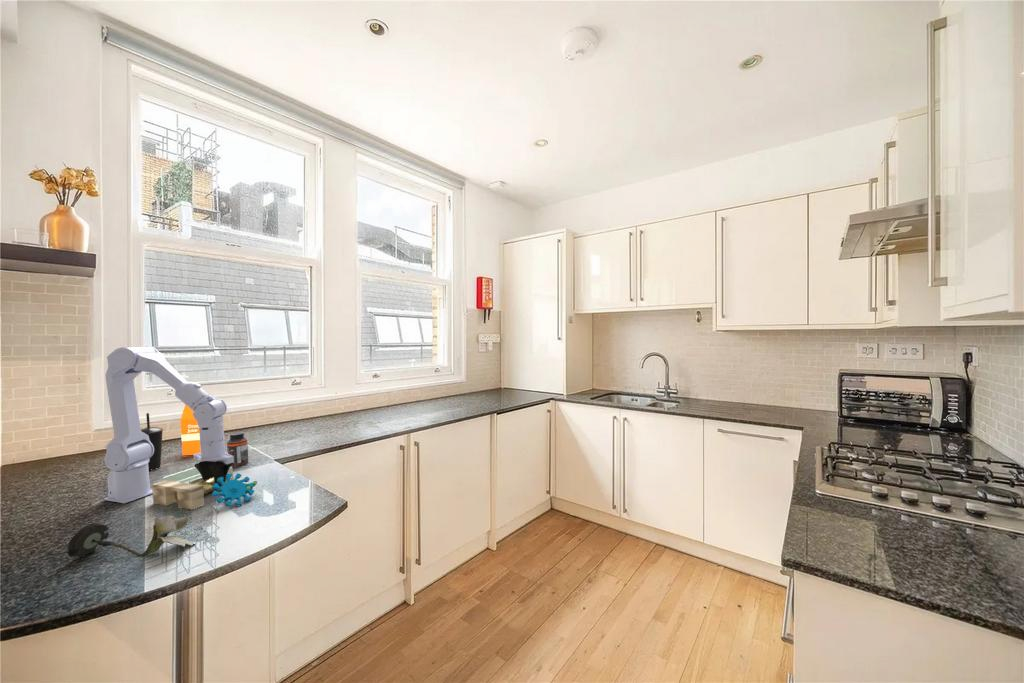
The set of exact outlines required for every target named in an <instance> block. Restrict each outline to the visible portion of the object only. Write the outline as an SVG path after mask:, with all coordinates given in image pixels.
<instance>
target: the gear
mask: <svg viewBox="0 0 1024 683" xmlns="http://www.w3.org/2000/svg"><path fill="white" fill-rule="evenodd" d="M231 477H232V474H227V475H226V479H227V482H223V479H224V478H223V477H220V478H218V479H217V482H219V483H220V484H221V486H222V487H219V485H218V484H217V483H215V484H214V485H213V486H212V489H217V490H215V491H212V492H211V497H212V498H215V497H217V499H216V502H217V504H221V503H222V502H223V501H224V502H225V501H227V502H225V504H224V506H225V507H231V506H232V505H233V501H234V500H237V501H236V503H235V507H239V506H238V505H240V506H242V504H243V502H244V503H247V502H249V501H250V500H251V497H250V496H252V495H253V494H254V493H255V490H254V487H256V486H257V484H258V481H257V480H254V481H253V482H250V483H248V482H249V481H250V478H249V477H248V476H245V477H244V478H243V479H241V480H239V479H240V478H241V477H242V474H241V473H236V474H235V477H234V478H231ZM230 478H231V479H230ZM246 494H247V495H246ZM221 496H222V497H221ZM241 498H243V501H242V499H241Z"/></svg>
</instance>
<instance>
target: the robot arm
mask: <svg viewBox="0 0 1024 683" xmlns="http://www.w3.org/2000/svg"><path fill="white" fill-rule="evenodd" d="M106 359H107V364H108V365H107V369H106V372H105V383H106V389H107V397H108V403H109V409H110V415H111V422H112V428H113V429H112V430H113V438H112V439H111V440H110V441H109V442H108V443H107V444H106V447H105V449H106V452H105V454H104V459H103V460H104V461H103V462H104V464H105V466H106V467H107V468H108V469H109V470H110V471H109V472H108V474H107V492H108V493H107V494H108V496H107V497H104V500H105V501H109V502H113V503H115V502H116V503H120V504H127V503H130V502H132V501H135V500H138V499H141V498H144V497H147V496H149V495H153V491H152V488H151V485H150V484H151V483H150V473H149V472H150V471H149V468H148V462H150V459H149V458H150V457H151V456H152V455H153V453H154V446H153V444H152V443H151V442H150V440H149V436H148V435H147V434H145V433H143V432H142V431H141V429H142V428H141V424H140V423H141V421H140V416H139V408H138V402H137V401H138V400H137V396H136V389H135V388H136V387H135V382H134V381H135V380H134V379H136V377H138V376H139V375H140V374H141V373H142V372H145V373H152V374H153V375H155V376H156V377H158V378H159V379H160V380H161V381H163V382H164V383H166V384H167V385H169V387H171V388H172V389H174V390H175V393H174V396H175V397H176V398H177V399H178V400H180V401H181V402H182V403H183V404H184V405H185V404H186V405H187V406H188V407H189V408H190V409H191V410H193V411H194V413H192V414H193V417H194V418H195V420H196V421H197V422H198V426H199V436H200V451H201V452H200V453H196V454H193V456H192V457H193V462H194V461H195V462H197V463H195V464H194V467H196V468H197V470H198V471H199V472H200V474H201V476H202V478H203V480H206V479H209V478H212V477H214V482H215V483H217V484H218V485H219V487H220V486H221V484H220V483H219V482H217V479H218V478H220V477H223V478H224V479H223V482H225V481H226V475H227V473H228V470H229V468H230V466H231V465H232V463H233V462H234V456H232V455H229V454H228V452H226V447H225V445H226V444H225V430H224V415H225V414H226V413H227V404H226V403H225V401H224V400H223V399H221V398H215V397H214V396H213V395H210V393H208V392H207V391H206V390H204V389H203V388H202V385H201V384H200V383H197V382H194V381H187V380H186V379H185V378H184V377H183V376H182V374H180V373H179V372H178V371H177V370H176V369H175V368H174V367H173V366H172V365H171V364H170V363H169V362H168V361H167V360H166V358H165V355H164V354H163V353H161V352H160V351H159V350H158V349H157V348H156V347H153V346H151V345H146V346H138V347H137V346H135V347H133V346H132V347H118V348H116V349H114V350H113V351H112V352H111V353H110V354H108V355H107V356H106Z"/></svg>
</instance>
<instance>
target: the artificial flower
mask: <svg viewBox="0 0 1024 683" xmlns="http://www.w3.org/2000/svg"><path fill="white" fill-rule="evenodd" d="M188 522H190V516H185V517H180V518H176V517H175V516H173V515H168V516H164V517H161V518H160V517H159V518H155V519H154V524H153V533H152V538H151V541H150V542H149V544H148V546H147V548H146V550H144V552H143V553H140V552H137V551H135V550H133V549H131V548H130V547H127V546H125V545H123V544H117V543H115V542H111V541H108V540H107V539H108V538H109V536H110V533H109V531H108V530H109V528H108V526H107V525H105V524H104V523H99V522H94V523H93V522H92V523H89V524H87V525H85V526H84V527H82V528H81V529H80V530H78V531H77V532H76V533H75V534H74V535H72V538H71V539H70V540H69V542H68V547H67V550H68V551H67V552H66V553H67V555H68V556H69V557H70V558H72V557H73V558H74V557H78V558H84V557H86V556H87V555H89V554H91V553H93V552H94V551H95V550H96V548H97V547H98V546H101V547H109V546H110V547H111V546H112V547H116V548H119V549H122V550H124V551H127V552H129V553H131V554H132V555H135V556H137V557H144V556H147V555H149V554H153V553H156V552H158V551H159V550H160V549H161V547H162V546H163V545H164V544H166V543H168V544H171V545H176V546H181V547H185V546H186V545H188V546H194V545H193V544H192V542H193V541H190V542H189V539H188V538H187V539H184V538H180V537H178V536H177V535H169V534H170V533H176V532H179V531H182V530H183V529H184V527H186V525H187V524H188ZM105 532H106V533H105ZM104 540H105V541H104ZM86 554H87V555H86ZM143 555H144V556H143Z"/></svg>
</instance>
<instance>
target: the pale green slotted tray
mask: <svg viewBox="0 0 1024 683" xmlns="http://www.w3.org/2000/svg"><path fill="white" fill-rule="evenodd" d="M233 471H234V469H233V467H230V468H229V470H228V473H227V474H232V477H233V478H234V474H233V473H234V472H233ZM164 480H166V481H174V482H181V483H188V484H195V483H198V482H200V481H203V478H202V476H201V474H200V472H199V471H198V470H197V468H196V467H195V466H193V467H191V468H188V469H184V470H181V471H178V472H176V473H172V474H169V475H166V476H163V477H162V481H164Z"/></svg>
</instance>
